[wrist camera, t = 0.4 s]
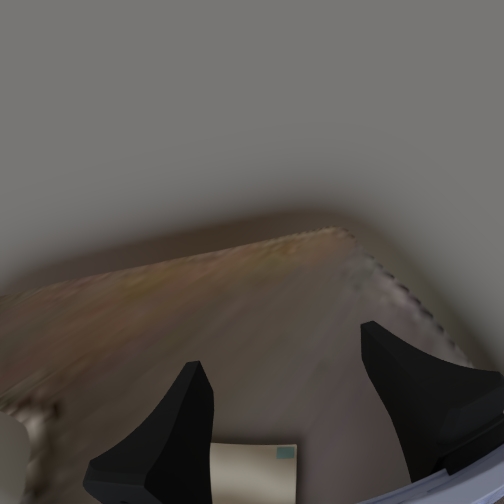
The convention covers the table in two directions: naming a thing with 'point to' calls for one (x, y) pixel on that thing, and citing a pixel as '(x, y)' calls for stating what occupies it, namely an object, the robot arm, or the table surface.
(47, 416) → the table surface
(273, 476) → the cream flat block
